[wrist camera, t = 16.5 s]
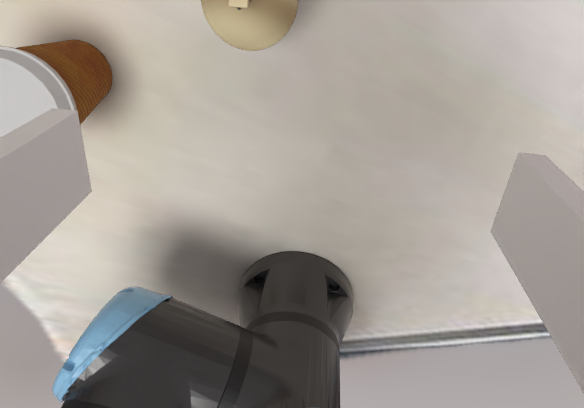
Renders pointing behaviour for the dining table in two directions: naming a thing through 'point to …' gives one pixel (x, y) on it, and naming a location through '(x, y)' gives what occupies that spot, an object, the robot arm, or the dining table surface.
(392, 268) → the dining table surface
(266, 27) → the balance
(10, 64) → the disposable coffee cup
